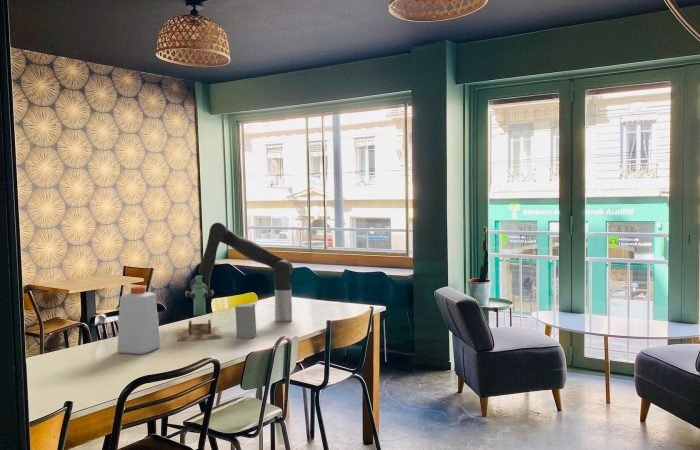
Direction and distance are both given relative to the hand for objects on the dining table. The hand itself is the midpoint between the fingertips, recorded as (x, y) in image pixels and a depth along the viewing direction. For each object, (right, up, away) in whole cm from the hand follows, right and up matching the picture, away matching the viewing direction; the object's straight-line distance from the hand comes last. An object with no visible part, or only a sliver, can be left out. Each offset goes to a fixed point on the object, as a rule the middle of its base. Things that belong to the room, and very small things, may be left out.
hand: (199, 296), depth 265 cm
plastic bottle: (-20, -21, -24) cm, 38 cm away
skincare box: (+23, -20, -1) cm, 31 cm away
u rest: (0, -20, +3) cm, 20 cm away
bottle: (-1, -9, +3) cm, 10 cm away
